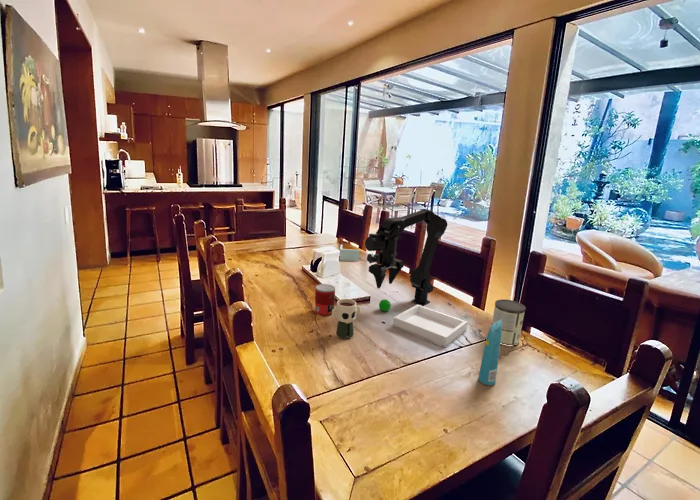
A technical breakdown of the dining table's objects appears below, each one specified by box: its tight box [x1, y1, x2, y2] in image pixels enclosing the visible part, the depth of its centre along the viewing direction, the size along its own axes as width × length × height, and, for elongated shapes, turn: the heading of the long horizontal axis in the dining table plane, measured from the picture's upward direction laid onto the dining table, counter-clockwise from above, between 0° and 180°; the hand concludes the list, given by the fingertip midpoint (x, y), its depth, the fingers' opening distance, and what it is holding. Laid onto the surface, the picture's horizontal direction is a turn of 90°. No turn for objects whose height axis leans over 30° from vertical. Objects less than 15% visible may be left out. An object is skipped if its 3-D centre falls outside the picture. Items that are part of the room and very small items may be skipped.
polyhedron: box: [378, 299, 392, 312], centre depth 156 cm, size 5×5×5 cm
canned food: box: [314, 283, 336, 317], centre depth 151 cm, size 8×8×11 cm
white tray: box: [392, 304, 468, 349], centre depth 142 cm, size 18×22×4 cm
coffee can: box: [491, 298, 526, 345], centre depth 136 cm, size 10×10×14 cm
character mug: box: [331, 298, 361, 340], centre depth 132 cm, size 11×7×13 cm, turn 115°
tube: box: [477, 320, 502, 386], centre depth 109 cm, size 7×5×19 cm, turn 140°
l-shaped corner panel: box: [339, 244, 361, 262], centre depth 230 cm, size 12×12×8 cm
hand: (384, 285), depth 154 cm, fingers open, 9 cm apart
